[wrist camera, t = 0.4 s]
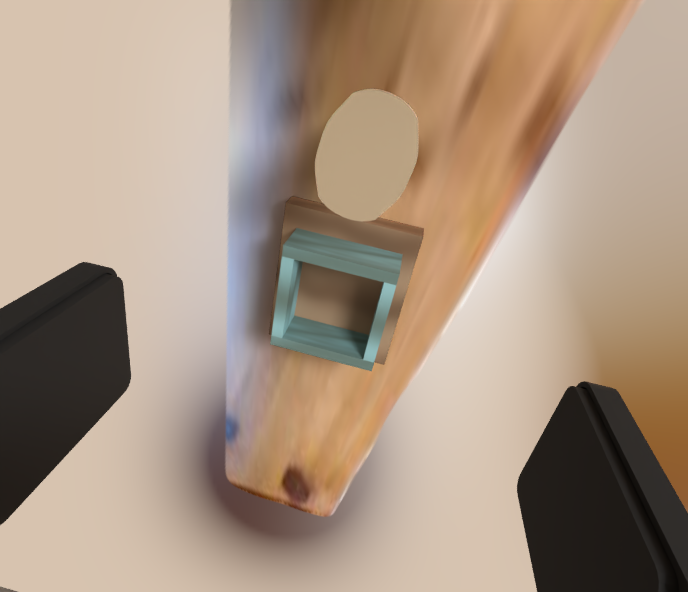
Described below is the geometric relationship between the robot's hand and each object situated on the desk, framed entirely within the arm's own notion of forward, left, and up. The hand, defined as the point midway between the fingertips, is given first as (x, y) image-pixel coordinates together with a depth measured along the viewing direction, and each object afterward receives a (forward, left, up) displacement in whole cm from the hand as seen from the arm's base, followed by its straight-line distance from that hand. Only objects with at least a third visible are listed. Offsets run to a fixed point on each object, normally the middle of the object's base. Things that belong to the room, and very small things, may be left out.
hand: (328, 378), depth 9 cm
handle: (-1, -1, -31) cm, 31 cm away
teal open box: (+14, -3, -30) cm, 33 cm away
